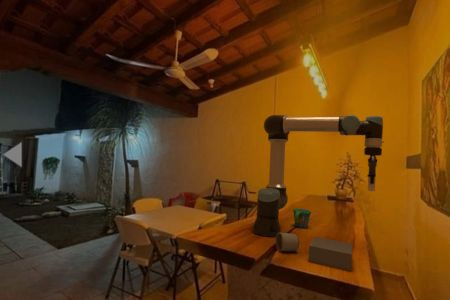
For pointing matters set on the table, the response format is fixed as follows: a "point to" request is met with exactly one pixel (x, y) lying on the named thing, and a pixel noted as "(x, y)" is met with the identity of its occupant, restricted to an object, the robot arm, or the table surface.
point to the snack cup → (301, 217)
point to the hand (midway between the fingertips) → (371, 190)
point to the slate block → (331, 253)
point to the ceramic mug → (287, 242)
